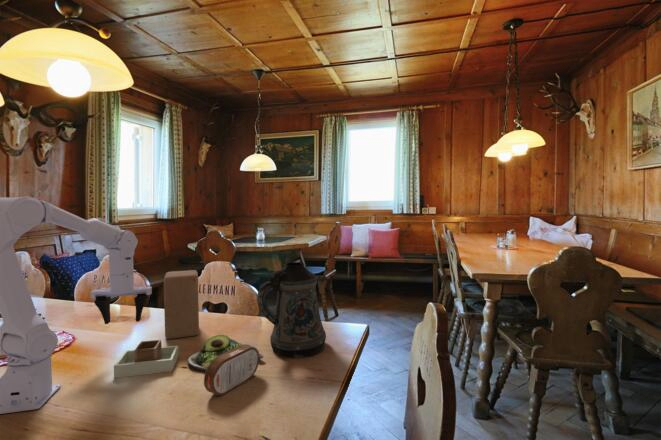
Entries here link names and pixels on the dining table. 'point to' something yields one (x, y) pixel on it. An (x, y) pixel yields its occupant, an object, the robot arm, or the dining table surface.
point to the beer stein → (293, 312)
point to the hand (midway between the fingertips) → (123, 321)
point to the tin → (231, 369)
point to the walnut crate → (148, 351)
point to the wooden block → (181, 304)
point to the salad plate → (213, 351)
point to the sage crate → (145, 363)
